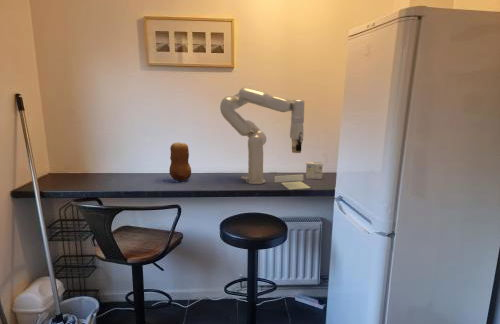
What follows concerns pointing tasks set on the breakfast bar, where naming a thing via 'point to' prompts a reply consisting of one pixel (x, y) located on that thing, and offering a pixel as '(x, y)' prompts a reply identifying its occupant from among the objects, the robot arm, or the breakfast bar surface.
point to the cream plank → (288, 178)
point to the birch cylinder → (294, 146)
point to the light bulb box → (314, 170)
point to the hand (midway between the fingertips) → (296, 149)
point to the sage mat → (295, 185)
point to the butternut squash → (179, 162)
